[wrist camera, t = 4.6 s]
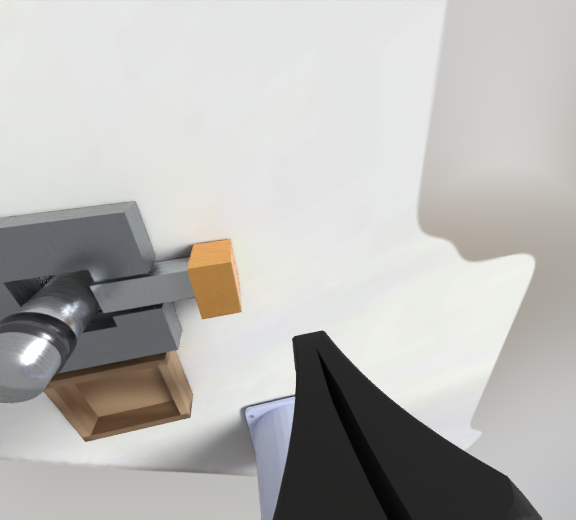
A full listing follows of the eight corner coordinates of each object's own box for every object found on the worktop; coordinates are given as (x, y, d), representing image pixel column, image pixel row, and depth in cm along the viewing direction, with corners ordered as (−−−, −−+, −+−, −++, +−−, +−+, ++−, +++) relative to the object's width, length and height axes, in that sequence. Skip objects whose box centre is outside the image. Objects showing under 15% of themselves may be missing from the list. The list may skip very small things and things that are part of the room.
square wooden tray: (193, 394, 24) (190, 417, 22) (96, 416, 23) (85, 441, 21) (170, 337, 21) (164, 358, 19) (55, 359, 19) (37, 384, 18)
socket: (135, 201, 16) (124, 212, 14) (182, 329, 20) (177, 349, 19) (-64, 226, 14) (-104, 241, 12) (36, 357, 19) (17, 381, 17)
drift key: (230, 239, 18) (231, 261, 15) (239, 284, 19) (241, 312, 17) (97, 258, 17) (71, 287, 14) (119, 304, 18) (100, 338, 16)
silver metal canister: (118, 302, 18) (64, 395, 12) (66, 311, 18) (-17, 412, 12) (98, 260, 17) (25, 343, 11) (39, 269, 16) (-71, 360, 10)
